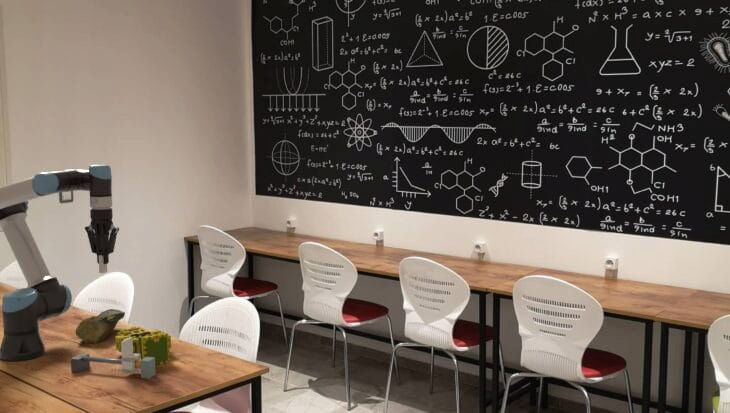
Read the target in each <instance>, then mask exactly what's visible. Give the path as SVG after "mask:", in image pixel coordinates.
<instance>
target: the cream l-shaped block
mask: <svg viewBox="0 0 730 413" xmlns="http://www.w3.org/2000/svg"><path fill="white" fill-rule="evenodd" d="M121 351H122V353H121V360H122V365H121V373H123V374H131V375H132V374H135V373H137V372H139V371H141V368H136V367H135V361H136V360H141V354H137V353H133V338H132V337H129V338H127V339H125V340H123V341H121Z"/></svg>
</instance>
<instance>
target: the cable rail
mask: <svg viewBox="0 0 730 413" xmlns="http://www.w3.org/2000/svg"><path fill="white" fill-rule="evenodd" d="M91 362H94V363H101V364H103V363H104V364H113V365H121V366H122V359H117V358H106V357H100V356H90V353H83V352H82V353H80V354H77V355H75V356H73V357H72V358H70V368H71V369H70V371H71V373H81V372H83V371H85V370H86V369H87V370H88V369H89V368H91V366H90V365H91V364H90V363H91ZM135 367H136V368H141V369H140V378H141V379H148V380H149V379H151V378H152V377H154V376H156V364H155V357H146V358H144V359H142V360H136V361H135Z"/></svg>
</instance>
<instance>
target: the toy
mask: <svg viewBox="0 0 730 413" xmlns="http://www.w3.org/2000/svg"><path fill="white" fill-rule="evenodd" d="M129 337H132V338H133V353H137V354H141V360H142V359H144V358H146V357H155V365H159V364H160V365H163V364H168V363H169V362H170V361H171V357H170V356H171V352H170V350H171V349H172V337H171V335H169V333H167V332H165V331H162V330H160V329H159V328H158V329H155V330H152V331H149V330H145V329H144V328H141V327H136V326H132V327H129V328H126V327H125V328H120V330H119V331H118V332H117V333H116V336H115V340H114V341H115V350H116V351H118V352H119V353H121V354H122V351H121V341H123V340H125V339H127V338H129Z"/></svg>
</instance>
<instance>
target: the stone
mask: <svg viewBox="0 0 730 413" xmlns="http://www.w3.org/2000/svg"><path fill="white" fill-rule="evenodd" d="M125 314H126V312H125V311H121V309H120V310H119V309H113V308H111V309H106V310H104V311H101V312H100V313H99V314H98V315H97V316H91V317H87V318H84V319H82V321H80V322H79V324H78V325H77V327H76V329H75V335H76V336H77V338H79V339H82V341H84V342H85V343H86V344H98V343H100V342H101V341H103V340H104V339H105V338H106V337H107V336H108V335H110V334H111V333H112V332H114V329H115V328H116V327H117V324H118V323H119V321H121V320H122V319H124V317H125V316H126V315H125Z"/></svg>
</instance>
